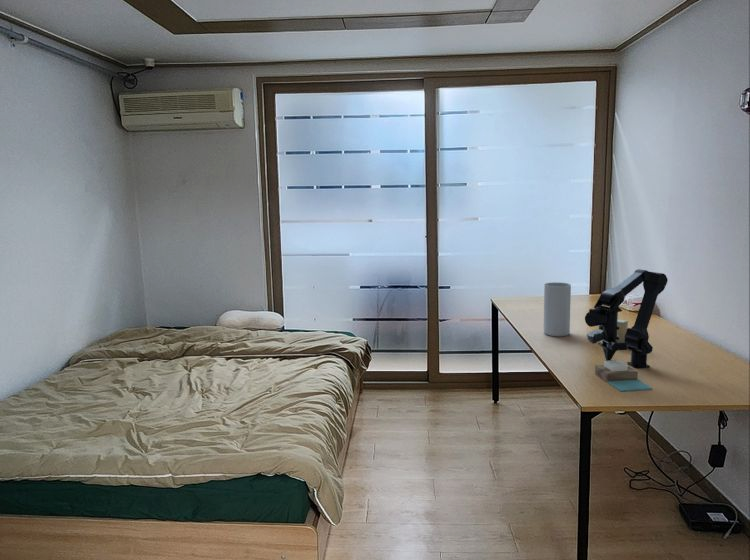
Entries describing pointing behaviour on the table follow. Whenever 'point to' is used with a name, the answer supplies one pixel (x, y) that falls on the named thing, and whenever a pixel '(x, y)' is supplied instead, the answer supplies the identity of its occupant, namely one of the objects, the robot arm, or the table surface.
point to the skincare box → (622, 329)
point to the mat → (629, 385)
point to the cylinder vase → (557, 309)
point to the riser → (615, 374)
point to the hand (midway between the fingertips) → (608, 361)
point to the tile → (616, 365)
